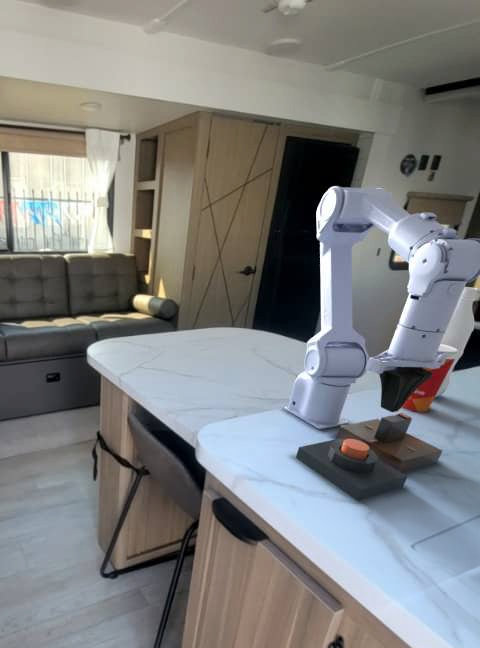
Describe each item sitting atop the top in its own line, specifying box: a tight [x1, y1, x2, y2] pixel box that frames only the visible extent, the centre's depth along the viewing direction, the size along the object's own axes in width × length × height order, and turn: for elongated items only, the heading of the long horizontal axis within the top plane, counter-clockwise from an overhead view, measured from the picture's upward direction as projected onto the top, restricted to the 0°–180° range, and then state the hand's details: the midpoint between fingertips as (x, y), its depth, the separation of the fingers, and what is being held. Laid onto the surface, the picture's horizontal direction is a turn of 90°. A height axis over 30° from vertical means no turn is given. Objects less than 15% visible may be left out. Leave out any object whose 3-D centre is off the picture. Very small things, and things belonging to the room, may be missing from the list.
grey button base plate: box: [295, 438, 408, 502], centre depth 66 cm, size 12×10×4 cm
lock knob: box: [375, 412, 413, 442], centre depth 72 cm, size 5×2×4 cm, turn 110°
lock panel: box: [336, 418, 443, 473], centre depth 73 cm, size 12×10×3 cm
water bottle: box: [435, 286, 479, 398], centre depth 92 cm, size 7×7×25 cm
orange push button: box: [341, 439, 370, 459], centre depth 65 cm, size 4×4×2 cm
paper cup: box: [401, 344, 458, 413], centre depth 88 cm, size 8×8×14 cm
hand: (389, 409), depth 65 cm, fingers closed
